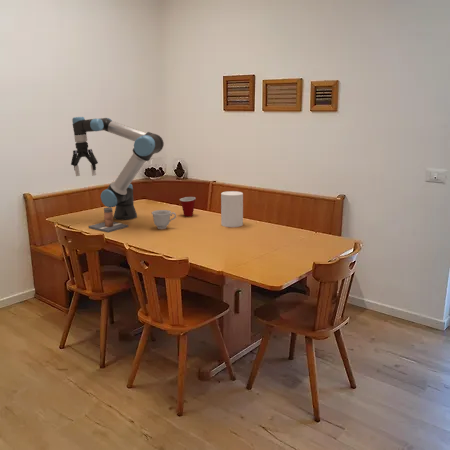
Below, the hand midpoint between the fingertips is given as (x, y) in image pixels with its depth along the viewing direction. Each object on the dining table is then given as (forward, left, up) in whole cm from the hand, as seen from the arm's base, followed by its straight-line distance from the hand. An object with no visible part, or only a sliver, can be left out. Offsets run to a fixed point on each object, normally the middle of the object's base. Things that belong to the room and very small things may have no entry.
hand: (85, 175), depth 311 cm
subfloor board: (+5, +24, -29) cm, 38 cm away
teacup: (-14, +53, -30) cm, 63 cm away
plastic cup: (-47, +44, -30) cm, 71 cm away
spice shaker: (+5, +26, -28) cm, 39 cm away
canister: (-45, +82, -30) cm, 99 cm away
